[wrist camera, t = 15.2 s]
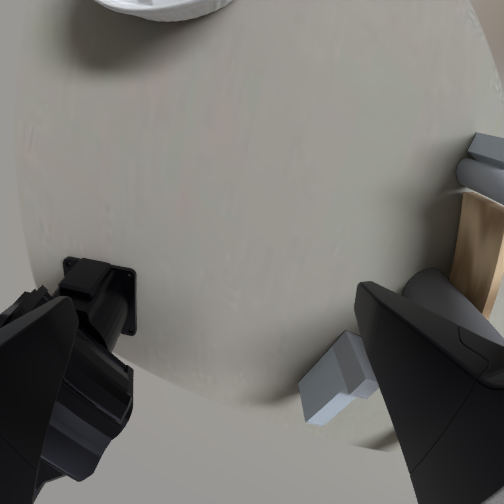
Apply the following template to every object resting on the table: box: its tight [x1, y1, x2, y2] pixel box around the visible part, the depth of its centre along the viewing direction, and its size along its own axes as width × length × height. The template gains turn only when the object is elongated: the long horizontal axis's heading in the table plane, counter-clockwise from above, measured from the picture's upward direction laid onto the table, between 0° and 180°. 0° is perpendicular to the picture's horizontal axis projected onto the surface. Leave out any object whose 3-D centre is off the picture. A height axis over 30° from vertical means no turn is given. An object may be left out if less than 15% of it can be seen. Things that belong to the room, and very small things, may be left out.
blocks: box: [298, 133, 504, 426], centre depth 21 cm, size 28×2×6 cm, turn 151°
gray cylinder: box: [402, 269, 504, 346], centre depth 19 cm, size 5×5×12 cm
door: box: [449, 192, 504, 320], centre depth 21 cm, size 14×2×6 cm, turn 5°
